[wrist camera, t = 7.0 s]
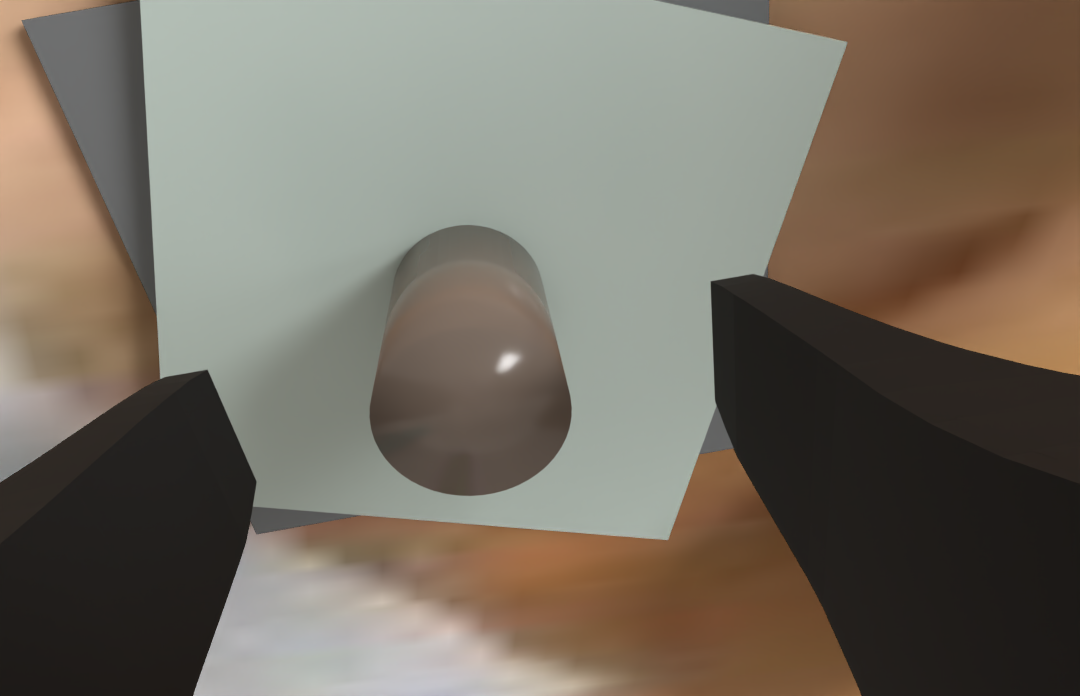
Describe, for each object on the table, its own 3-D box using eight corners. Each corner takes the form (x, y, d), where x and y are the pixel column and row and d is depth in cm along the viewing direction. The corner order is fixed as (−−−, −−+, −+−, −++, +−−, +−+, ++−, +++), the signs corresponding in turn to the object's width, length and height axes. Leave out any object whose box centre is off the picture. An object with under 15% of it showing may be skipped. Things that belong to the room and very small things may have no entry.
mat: (760, -107, 12) (769, -109, 12) (760, 432, 17) (767, 442, 17) (33, 18, 12) (21, 19, 12) (260, 522, 17) (256, 534, 17)
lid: (826, 37, 13) (1003, 83, 9) (659, 516, 18) (721, 692, 14) (154, -109, 11) (-34, -140, 7) (179, 475, 16) (80, 664, 12)
